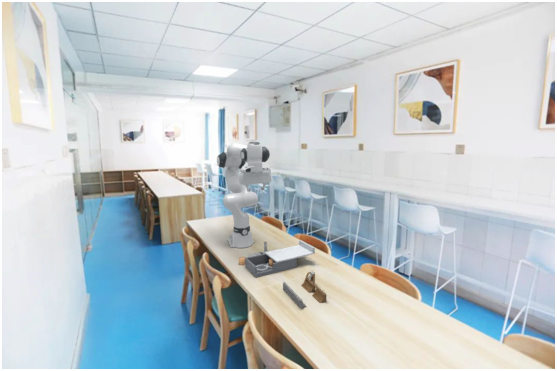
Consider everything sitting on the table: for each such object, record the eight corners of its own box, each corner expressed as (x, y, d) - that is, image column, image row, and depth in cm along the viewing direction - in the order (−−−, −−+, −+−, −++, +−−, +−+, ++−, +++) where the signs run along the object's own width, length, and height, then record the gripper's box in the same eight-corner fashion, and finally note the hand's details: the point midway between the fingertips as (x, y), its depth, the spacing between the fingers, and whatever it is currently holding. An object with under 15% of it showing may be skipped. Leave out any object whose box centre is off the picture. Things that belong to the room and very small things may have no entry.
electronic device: (246, 244, 183) (267, 240, 189) (247, 258, 184) (268, 254, 191) (248, 247, 178) (270, 242, 184) (249, 262, 180) (271, 256, 186)
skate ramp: (270, 287, 147) (270, 274, 146) (328, 274, 160) (328, 261, 159) (296, 319, 120) (296, 302, 119) (362, 300, 134) (362, 285, 133)
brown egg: (238, 264, 174) (237, 257, 174) (244, 263, 176) (243, 256, 175) (240, 267, 171) (240, 260, 170) (246, 265, 173) (246, 258, 172)
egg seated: (268, 266, 169) (267, 258, 169) (274, 264, 171) (273, 257, 170) (271, 268, 166) (270, 261, 165) (277, 267, 168) (276, 259, 167)
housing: (245, 268, 169) (244, 258, 168) (283, 259, 181) (283, 249, 180) (256, 279, 155) (255, 268, 154) (296, 268, 167) (296, 258, 166)
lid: (264, 253, 174) (264, 247, 174) (300, 245, 186) (300, 240, 186) (276, 262, 160) (276, 256, 160) (314, 253, 172) (314, 247, 172)
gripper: (268, 167, 181) (268, 188, 183) (237, 169, 171) (238, 191, 173) (272, 167, 175) (273, 190, 177) (241, 169, 166) (242, 193, 168)
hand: (255, 190), depth 175 cm, fingers open, 8 cm apart
